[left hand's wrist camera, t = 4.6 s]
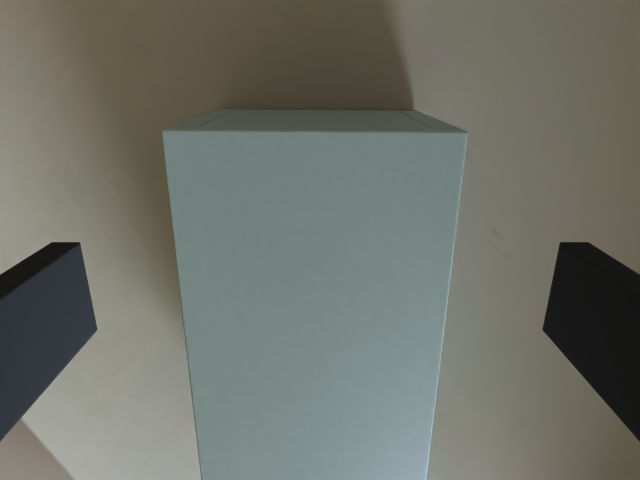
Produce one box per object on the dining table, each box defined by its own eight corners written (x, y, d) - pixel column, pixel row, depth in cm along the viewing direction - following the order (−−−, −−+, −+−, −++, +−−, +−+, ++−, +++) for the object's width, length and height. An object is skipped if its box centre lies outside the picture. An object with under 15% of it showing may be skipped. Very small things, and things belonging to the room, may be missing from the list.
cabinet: (393, 396, 32) (421, 520, 23) (237, 395, 32) (205, 518, 23) (416, 110, 25) (468, 131, 16) (216, 109, 25) (160, 128, 16)
